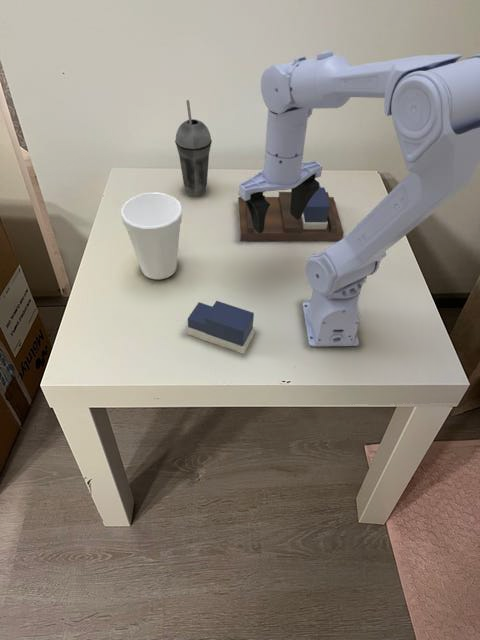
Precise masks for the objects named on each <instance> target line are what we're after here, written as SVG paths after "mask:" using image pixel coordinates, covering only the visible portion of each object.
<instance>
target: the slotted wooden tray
mask: <svg viewBox="0 0 480 640" xmlns="http://www.w3.org/2000/svg"><path fill="white" fill-rule="evenodd" d="M325 192H326V195H327V199H328V203H329V206H330V207H329V212H328V217H327V222H328V225H327V229H303V226H302V221H301V218H300V219H299V220H297V219H296V218H294V217H293V216H292V215H291V213H290V205H291V191H278V196H265V200H266V201H267V202H268V203H269V204H270V206H269V208H268V210H267V213H266V216H265V224H264V230H263V232H262V233H258V232H257V231H256V230H255V229H254V228H253V223H252V218H251V214H250V211H249V209H248V206H247V204H246V202H245V201H244V200H243V199H242V198H241V197H240V196H238V197H237V207H238V208H237V210H238V211H237V212H238V226H239V227H238V229H239V241H240V242H338V241H340V240H342V239H343V238H344V229H343V226H342V221H341V219H340V216H339V212H338V208H337V205H336V202H335V201H336V200H335V197H334V196H330V195H329V192H328V191H325Z"/></svg>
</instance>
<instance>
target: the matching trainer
mask: <svg viewBox="0 0 480 640" xmlns="http://www.w3.org/2000/svg"><path fill="white" fill-rule="evenodd" d="M326 192H327V191H326V188H325V187H324V186H323V187H321V185H319V190H318V191H317V192H316V193H315V194H314V195H313V196H312V197H311V199H310V200H309V202H308V204H307V205H306V207H305V209H304V212H303V214H302V216H301V221H302V226H303V229H327V225H328V222H327V217H328V212H329V207H330V206H329V203H328V199H327V195H326Z"/></svg>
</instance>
